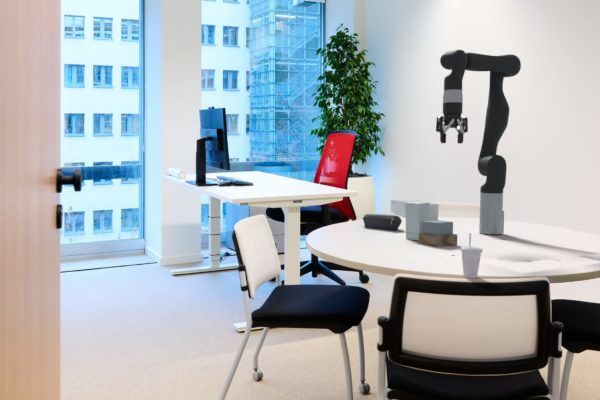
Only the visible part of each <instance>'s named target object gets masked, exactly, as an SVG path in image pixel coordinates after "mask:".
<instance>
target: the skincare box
mask: <svg viewBox="0 0 600 400" xmlns="http://www.w3.org/2000/svg"><path fill="white" fill-rule="evenodd" d="M424 202H425V201H423V202H411V203H405V216H406V218H405V239H406V240H409V241H417V242H419V233H422V221H430V217H429V203H430V202H429V203H424Z"/></svg>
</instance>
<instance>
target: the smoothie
mask: <svg viewBox="0 0 600 400" xmlns="http://www.w3.org/2000/svg"><path fill="white" fill-rule="evenodd" d="M460 251H461V260H462V272H463V278H466V279H477V278H478V274H479V268H480V262H481V256H482V255H481V254H482V253H483V248H482V247H480V246H473V245H472V233H471V232H469V235H468V245H466V246H461V247H460Z"/></svg>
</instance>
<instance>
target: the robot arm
mask: <svg viewBox="0 0 600 400" xmlns="http://www.w3.org/2000/svg"><path fill="white" fill-rule="evenodd" d="M439 63H440V66H441V67H442V68H444V70H448V71H449V70H450V71H451V72H450V74H447V75H446V76H445V77H444V80H443V95H442V96H443V97H442V114H443V116H442V115H440V116H436V124H435V132H437V133H439V134H440V135H439V136H440V137H439V138H440V139H439V140H440V141H439V142H440V144H446V143H447V131H449V129H454V130H455V131H456V132H457V144H463V143H464V134H465V133H468V132H469V126H468V124H469V122H468V121H469V120H468V117H467V116H466V117H465V116H464V117H462V114H463V104H464V103H463V97H464V95H463V79H464V75H465V73H466V71H468V72H470V71H471V72H489V88H488V98H487V99H488V100H487V107H486V112H485V113H486V114H485V119H484V120H485V121H484V129H483V135H482V142H481V148H480V151H479V154H478V161H477V171H478V172H479V174H480V175H481V176H483V177H485V178H486V179H485V183H483V184H482V185H481V186H480V189H479V191H480V194H479V195H480V196H479V224H478V225H479V230H478V231H479V233H480V234H484V235H502V234H504V232H505V231H504V230H505V225H504V224H505V211H504V209H503V207H504V206H503V205H504V203H503V202H504V189H505V186H506V180H507V171H508V170H507V161H506V159H505V158H504V157H503V156H502V155H500V154H497V151H498V146H499V145H498V144H499V142H500V140H501V138H502V137H503V135H504V133H505V131H506V129H507V127H508V123H509V117H510V106H509V103H508V100H507V98H506V96H505V94H504V78H510V77H514V76H516V75H518V74H519V73H520V71H521V68H522V64H521V59H520V58H519V57H518V56H517V55H516V54H510V53H509V54H503V55H490V54H482V53H476V52H465V51H464V50H463V49H454V50H448V51H446V52H444V53H442V55H441V56H440V61H439Z"/></svg>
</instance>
